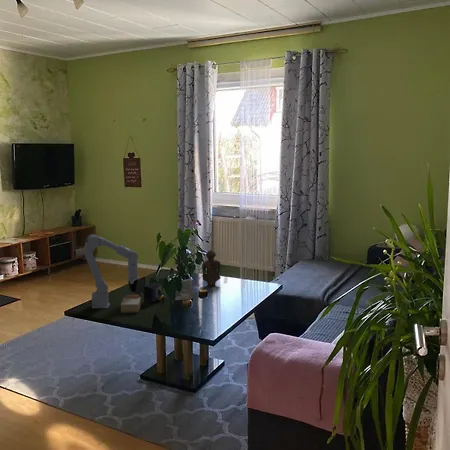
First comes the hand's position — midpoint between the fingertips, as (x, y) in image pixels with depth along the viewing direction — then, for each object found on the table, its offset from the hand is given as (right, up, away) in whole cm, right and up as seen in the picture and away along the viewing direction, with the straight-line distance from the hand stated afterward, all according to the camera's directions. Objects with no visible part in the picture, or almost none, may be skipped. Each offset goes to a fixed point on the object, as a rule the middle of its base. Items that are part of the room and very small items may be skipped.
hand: (133, 291), depth 297 cm
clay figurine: (+47, -1, +36) cm, 59 cm away
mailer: (0, -9, -10) cm, 13 cm away
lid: (0, -5, -10) cm, 11 cm away
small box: (+11, -7, +5) cm, 14 cm away
